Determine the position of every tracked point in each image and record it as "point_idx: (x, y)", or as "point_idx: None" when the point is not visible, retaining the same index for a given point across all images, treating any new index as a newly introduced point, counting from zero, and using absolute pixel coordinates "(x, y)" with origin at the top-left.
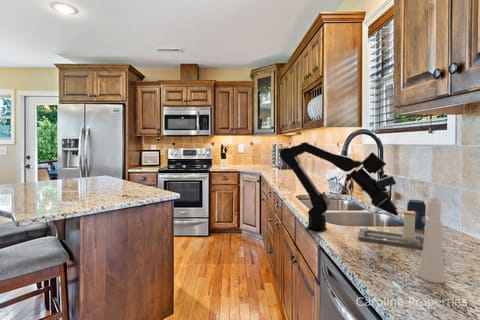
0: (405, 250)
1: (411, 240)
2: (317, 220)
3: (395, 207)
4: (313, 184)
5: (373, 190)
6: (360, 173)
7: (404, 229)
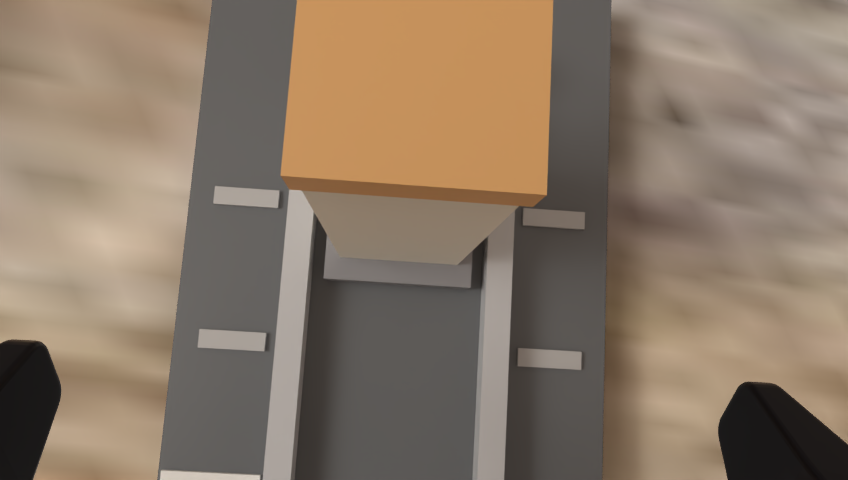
0: (715, 295)
1: None
2: None
3: (15, 384)
4: None
5: None
6: None
7: (470, 250)
